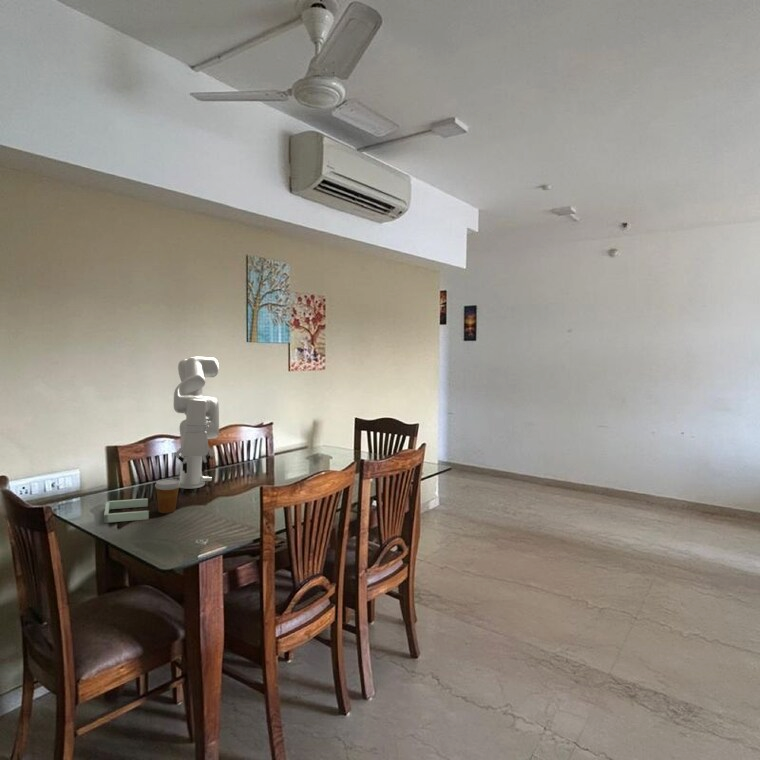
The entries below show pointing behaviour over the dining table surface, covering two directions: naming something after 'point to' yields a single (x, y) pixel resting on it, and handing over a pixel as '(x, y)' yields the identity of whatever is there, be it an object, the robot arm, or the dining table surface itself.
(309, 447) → the dining table surface
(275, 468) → the dining table surface
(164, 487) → the disposable coffee cup
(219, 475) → the dining table surface
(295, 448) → the dining table surface
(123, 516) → the bay
